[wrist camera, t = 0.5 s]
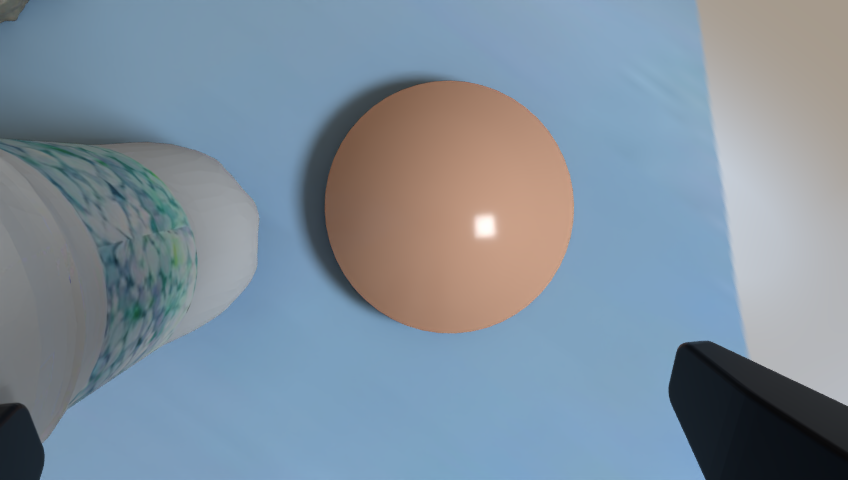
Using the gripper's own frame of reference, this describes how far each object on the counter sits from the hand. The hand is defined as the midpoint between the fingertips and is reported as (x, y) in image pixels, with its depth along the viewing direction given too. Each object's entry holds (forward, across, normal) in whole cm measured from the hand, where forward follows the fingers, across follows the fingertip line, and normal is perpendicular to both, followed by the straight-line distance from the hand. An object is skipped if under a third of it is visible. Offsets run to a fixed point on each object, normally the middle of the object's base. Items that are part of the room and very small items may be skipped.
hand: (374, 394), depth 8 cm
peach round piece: (+15, -4, +4) cm, 16 cm away
